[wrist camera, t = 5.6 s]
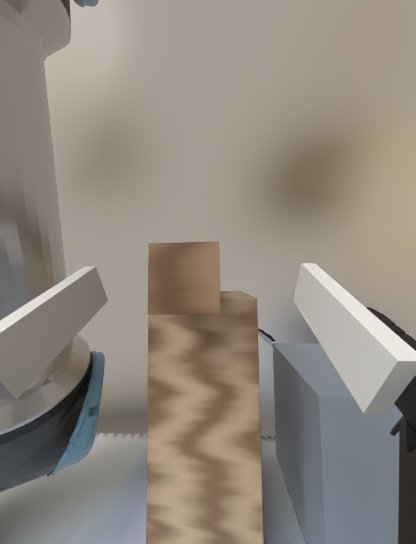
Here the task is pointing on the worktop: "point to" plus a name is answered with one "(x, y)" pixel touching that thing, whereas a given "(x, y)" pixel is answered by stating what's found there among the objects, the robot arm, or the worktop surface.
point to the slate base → (334, 452)
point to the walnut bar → (184, 278)
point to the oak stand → (205, 426)
